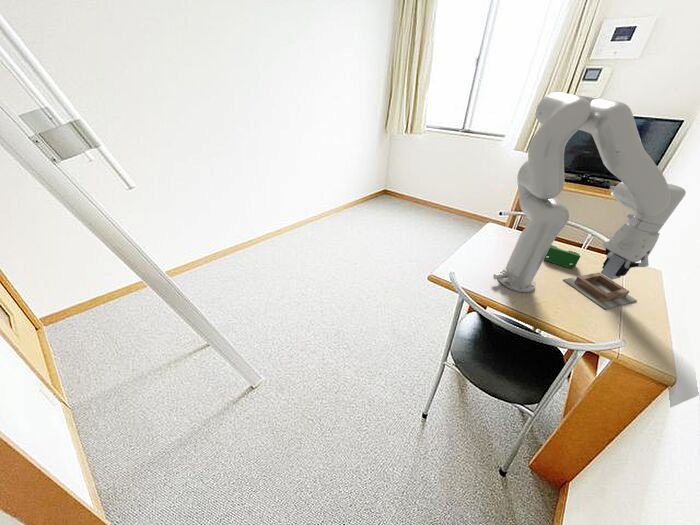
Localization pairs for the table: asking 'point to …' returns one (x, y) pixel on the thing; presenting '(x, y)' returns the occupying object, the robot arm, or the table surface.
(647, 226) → the robot arm
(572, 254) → the green rectangular block
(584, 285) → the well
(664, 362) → the table surface
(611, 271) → the grey angular block
